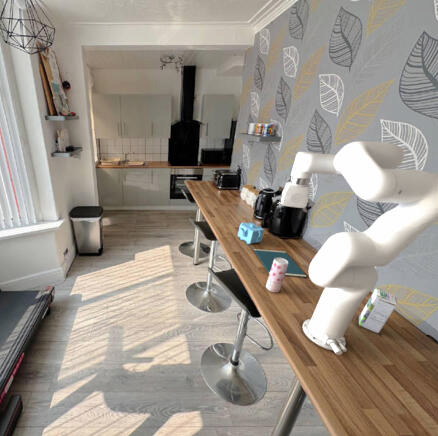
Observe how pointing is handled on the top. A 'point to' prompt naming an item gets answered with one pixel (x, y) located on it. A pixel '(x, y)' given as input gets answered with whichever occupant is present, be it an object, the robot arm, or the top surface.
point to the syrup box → (377, 310)
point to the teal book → (270, 255)
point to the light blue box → (250, 233)
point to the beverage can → (277, 274)
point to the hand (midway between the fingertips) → (288, 217)
